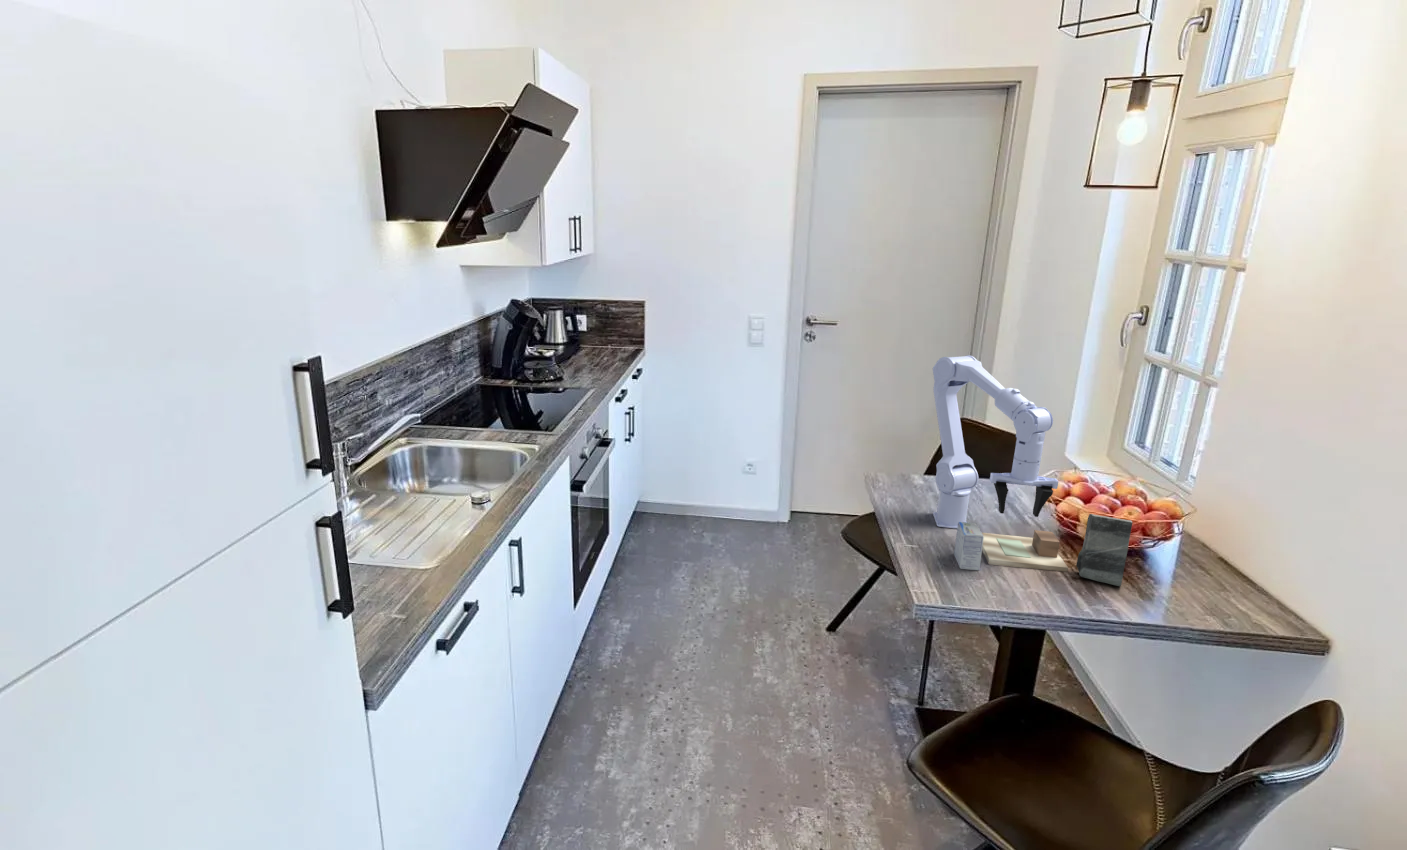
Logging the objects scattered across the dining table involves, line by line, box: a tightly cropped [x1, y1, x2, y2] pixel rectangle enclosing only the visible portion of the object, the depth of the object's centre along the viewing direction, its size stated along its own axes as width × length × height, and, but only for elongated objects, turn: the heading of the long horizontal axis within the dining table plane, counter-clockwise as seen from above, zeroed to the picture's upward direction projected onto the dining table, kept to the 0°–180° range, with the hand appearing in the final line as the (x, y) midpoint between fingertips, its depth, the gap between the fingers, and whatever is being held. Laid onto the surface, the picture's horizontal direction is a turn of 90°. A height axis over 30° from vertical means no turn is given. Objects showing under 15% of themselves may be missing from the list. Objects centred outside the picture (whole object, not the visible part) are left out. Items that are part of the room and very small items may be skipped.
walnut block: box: [1032, 529, 1060, 558], centre depth 164 cm, size 6×4×4 cm, turn 169°
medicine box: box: [953, 521, 984, 571], centre depth 160 cm, size 8×4×9 cm, turn 170°
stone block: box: [1076, 513, 1133, 587], centre depth 153 cm, size 9×14×5 cm
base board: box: [982, 532, 1069, 573], centre depth 166 cm, size 16×17×2 cm
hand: (1018, 513), depth 164 cm, fingers open, 7 cm apart
